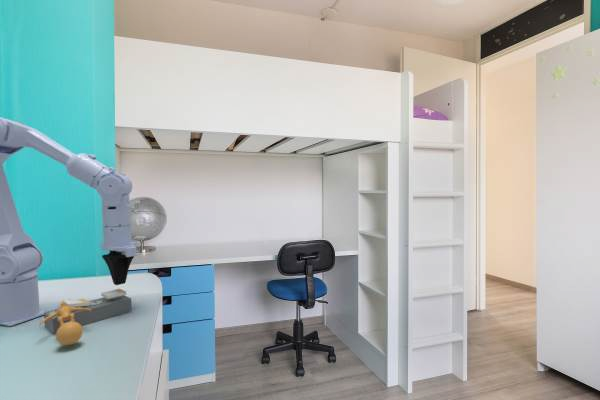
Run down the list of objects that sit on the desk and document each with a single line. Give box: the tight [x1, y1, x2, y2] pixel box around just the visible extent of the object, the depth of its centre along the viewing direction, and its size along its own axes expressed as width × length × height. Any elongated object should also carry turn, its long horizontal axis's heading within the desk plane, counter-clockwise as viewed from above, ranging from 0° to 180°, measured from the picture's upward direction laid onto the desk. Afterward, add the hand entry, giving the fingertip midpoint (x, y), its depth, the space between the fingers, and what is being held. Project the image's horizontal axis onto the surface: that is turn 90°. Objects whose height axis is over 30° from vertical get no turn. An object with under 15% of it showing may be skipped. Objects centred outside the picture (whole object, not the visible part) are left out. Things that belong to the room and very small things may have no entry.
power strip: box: [43, 295, 133, 335], centre depth 74 cm, size 15×6×3 cm, turn 140°
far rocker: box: [101, 288, 127, 299], centre depth 78 cm, size 4×4×1 cm
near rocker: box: [62, 298, 90, 308], centre depth 72 cm, size 4×4×1 cm
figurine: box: [38, 301, 91, 346], centre depth 64 cm, size 8×6×12 cm
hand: (119, 283), depth 79 cm, fingers closed
